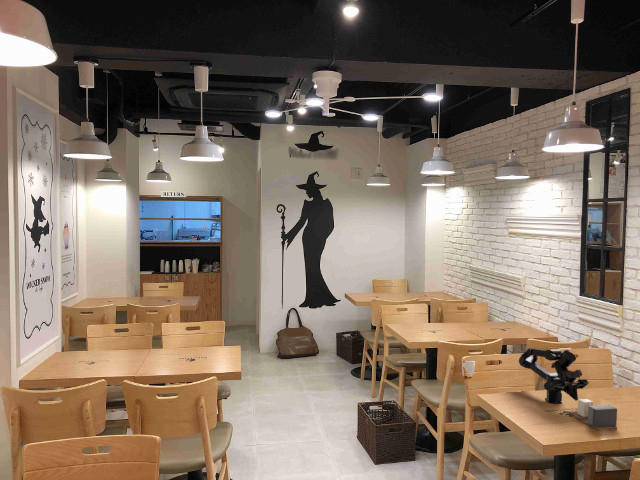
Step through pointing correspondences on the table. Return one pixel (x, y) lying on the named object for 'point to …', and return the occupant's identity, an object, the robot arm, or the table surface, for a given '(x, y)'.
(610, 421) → the socket housing
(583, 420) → the board
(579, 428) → the table surface
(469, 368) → the white cup
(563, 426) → the table surface
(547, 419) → the table surface
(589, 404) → the plug
